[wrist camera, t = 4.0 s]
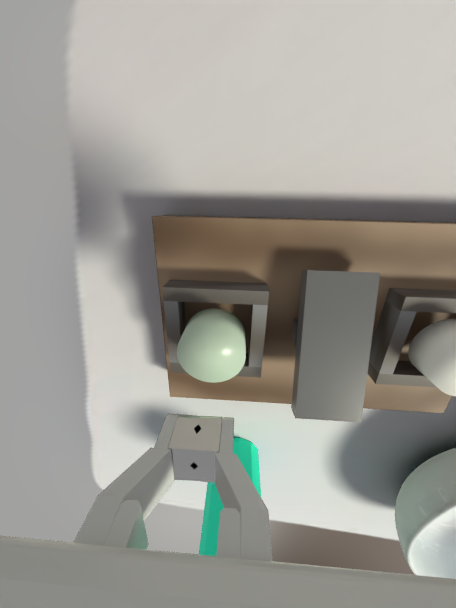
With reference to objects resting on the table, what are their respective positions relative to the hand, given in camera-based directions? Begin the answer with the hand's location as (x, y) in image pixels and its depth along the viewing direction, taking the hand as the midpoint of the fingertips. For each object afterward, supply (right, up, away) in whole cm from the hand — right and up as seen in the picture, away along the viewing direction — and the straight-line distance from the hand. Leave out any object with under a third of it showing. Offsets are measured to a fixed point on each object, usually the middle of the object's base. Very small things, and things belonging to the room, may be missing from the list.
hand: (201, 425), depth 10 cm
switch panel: (+8, +5, +10) cm, 14 cm away
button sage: (0, +3, +6) cm, 7 cm away
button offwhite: (+16, +3, +6) cm, 17 cm away
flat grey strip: (+8, +3, +6) cm, 10 cm away
